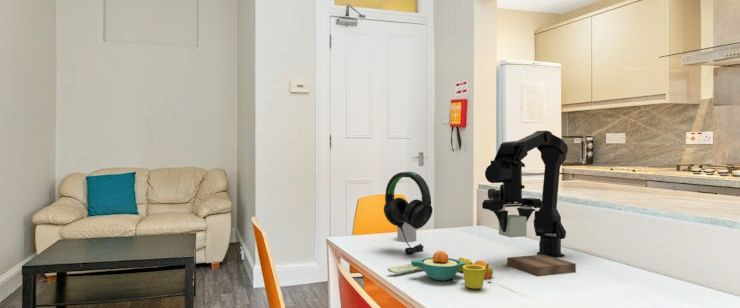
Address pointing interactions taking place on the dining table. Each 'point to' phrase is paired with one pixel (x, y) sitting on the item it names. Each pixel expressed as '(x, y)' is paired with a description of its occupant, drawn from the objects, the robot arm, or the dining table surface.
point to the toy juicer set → (449, 269)
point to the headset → (408, 207)
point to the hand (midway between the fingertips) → (512, 231)
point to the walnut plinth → (541, 265)
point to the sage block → (515, 226)
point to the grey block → (406, 233)
